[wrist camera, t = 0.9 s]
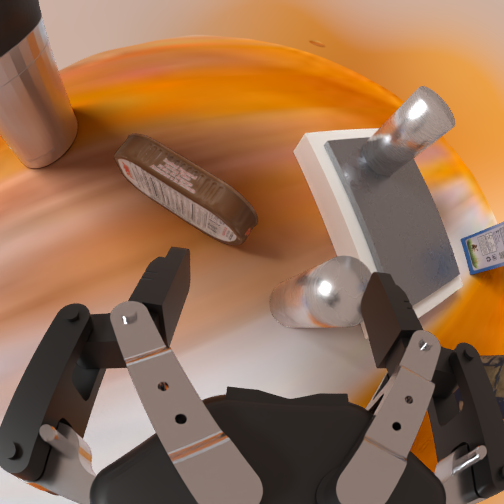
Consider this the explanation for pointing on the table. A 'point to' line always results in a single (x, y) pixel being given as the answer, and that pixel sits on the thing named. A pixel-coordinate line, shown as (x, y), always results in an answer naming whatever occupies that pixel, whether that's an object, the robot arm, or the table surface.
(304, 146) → the scale
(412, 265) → the dark grey flat panel
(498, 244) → the milk carton
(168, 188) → the tin
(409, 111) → the cylinder
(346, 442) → the robot arm
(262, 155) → the table surface
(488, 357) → the canister
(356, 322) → the cylinder
